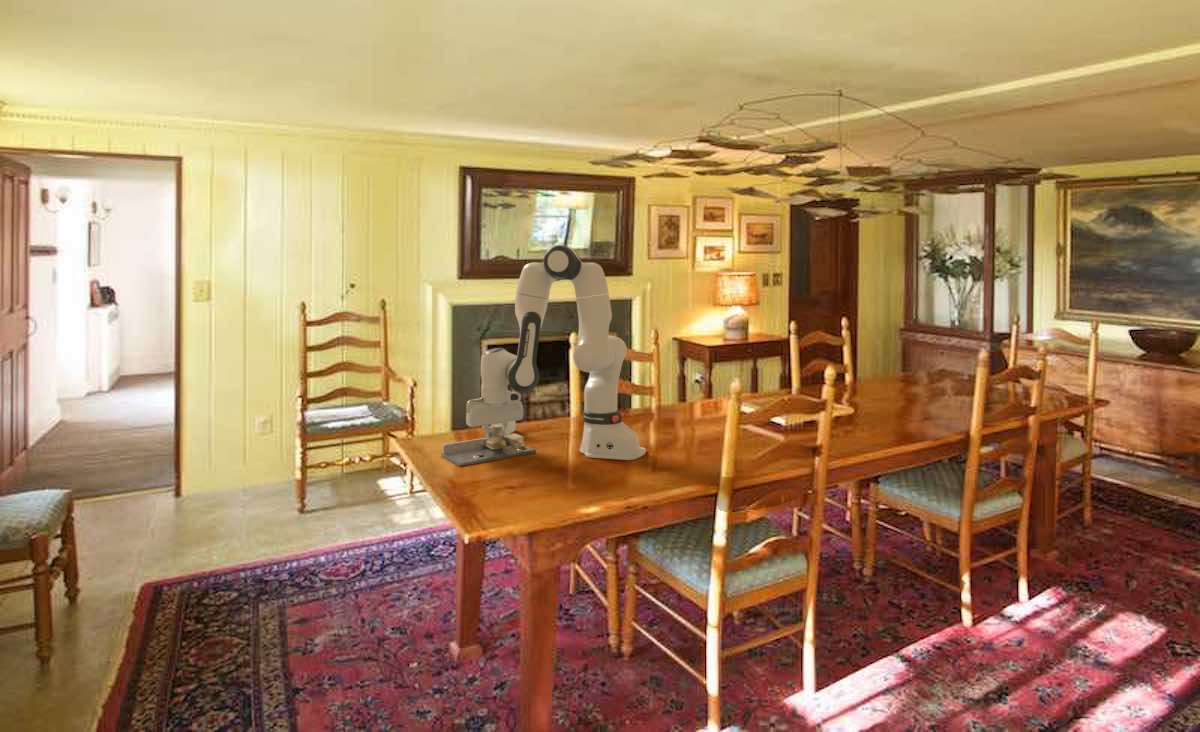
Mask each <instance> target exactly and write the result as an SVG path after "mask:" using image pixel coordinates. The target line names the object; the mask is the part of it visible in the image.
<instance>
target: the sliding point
mask: <svg viewBox="0 0 1200 732" xmlns="http://www.w3.org/2000/svg"><path fill="white" fill-rule="evenodd" d="M487 429H488V430H489V431H490V432H492V437H489V438H488V441H486V447H488V448H490V449H492V450H494V449H500V448H503V451H506V442H505V441H503V427H500V426H498V425H495V426H491V425H489V428H487Z"/></svg>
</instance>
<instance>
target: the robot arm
mask: <svg viewBox="0 0 1200 732" xmlns="http://www.w3.org/2000/svg"><path fill="white" fill-rule="evenodd" d="M566 280H567V281H570V282H571V283H572V286H573V288H574V291H575V293H574V295H575V300H576V308H577V315H578V333H577V334H578V335H577V343H576V346H575V348H574V351H573V353H572V354H573V355H572V358H573V363H574V365H575V366H576V368H577V369H578V370H579V371H581V372H585V373H589V376H588V379H587V381H586V383H585V386H584V393H583V394H584V401H583V402H584V409H583V411H582V412H583V413H582V414H583V415H582V424H583V433H582V440H581V444H580V447H579V452H580V453H582V454H584V455H585V457H586V458H592V459H593V458H594V459H605V460H607V459H609V460H619V461H621V460H622V461H632V460H637V459H639V458H641V457H643V456H645V454H646V453H647V450H646V447H643V446H640V439H639V436H638V433H636V432H635V431H634V430H633V429H631V427H629V426H628V425H626V423H624V422H623V417H624V416H625V415H624V414H625V412H620V411H619V410H618V385H619V379H620V376H621V370H622V365H623V362H624V360H625V358H626V356H627V351H628V349H627V345H626V343H625V341H624V340H623V339H622V338H621V337H619V336H614V335H609V331H610V323H611V321H612V317H613V313H612V305H611V299H610V294H609V293H610V292H609V287H608V283H607V279H606V275H605V272H604V270H603V267H602V266H601V265H600V264H598V263H596V262H589V261H588V262H583V261H581V257H580V255H579V254H578V253H577V251H576V250H574V249H573V248H572V247H569V246H567V245H562V244H558V245H554V246H552V247H550V248H548V249H547V251H546V252H545V254H544V255H543V262H536V261H535V262H534V261H533V262H530V263H527V264H525V265H524V266H523V267H522V270H521V273H520V276H519V279H518V283H517V286H516V293H515V298H514V314H515V316H516V319H517V322H518V323H517V324H518V327H519V340H518V345H517V346H518V349H517V355H516V354H513V353H511V352H509V351H507V350H506V349H505V348H503V347H495V348H490V349H487V350H485V351H484V352H483V353H482V355H481V358H480V378H481V386H480V396H481V397H478V398H472V399H469V400H468V401H467V403H466V404H465V408H466V414H465V415H466V416H465V423H466V425H467V426H468V427H470V428H477V427H482V430H483V431H484V432H485V438H486V437H487V438H489V437H492V432H490V431H489V430H488V428H489V426H491V424H498V423H501V424H502V427H503V435H505V430H506V428H507V426H508V422H511V421H516V422H517V421H522V420H523V417H524V407H523V402H522V401H521V400H522V396H521V394H522V393H529V392H531V391H533V390H534V389H535V388H536V387H537V386H538V384H539V382H540V371H539V368H538V366H537V358H538V348H539V341H540V334H541V329H542V327H543V323H544V319H545V316H546V313H547V309H548V303H549V298H550V293H551V289H552V288H551V287H552V285H553V283H555V282H557V281H558V282H559V281H566ZM508 385H510V387H511V388H512V389H513V390H514V391H512V390H509V389H508Z"/></svg>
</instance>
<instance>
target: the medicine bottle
mask: <svg viewBox="0 0 1200 732" xmlns="http://www.w3.org/2000/svg"><path fill="white" fill-rule="evenodd" d="M516 422H517V421H511V422H508V426H507V428H506V430H505V434H510V433H515V432H516V430H517V429H516V428H517V426H516ZM495 425H498V426H500V427H502V424H501V423H498V424H491V425H490V426H495Z"/></svg>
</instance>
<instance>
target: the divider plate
mask: <svg viewBox="0 0 1200 732" xmlns="http://www.w3.org/2000/svg"><path fill="white" fill-rule="evenodd" d="M486 441H488V438H487V437H486V436H485V437H480V438H475V439H469V440H463V441H457V442H451V443H449V442H448V443H444V444H442V445H441V446H442V453H440V454H441V455H440V457H442V458H444V459H445V460H446V461H449V462H450V463H452V464H454V465H455V466H457V465H458V467H464V466H463V465H465V466H468V465H469V466H470V465H475V463H476V464H480V463H486V462H492V461H498V460H503V458H504V459H508V458H513V457H514V456H515V457H519V456H526V455H530V454H536V453H537V451H536V449H534V448H532V447H531V446H528V445H525V442H524V436H523V435H520V434H517V433H516V432H512V433H511V434H505V435H503V441H505V442H506V451H503V448H500V449H494V450H492V449H490V448H488V447H486ZM497 459H498V460H497Z"/></svg>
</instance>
